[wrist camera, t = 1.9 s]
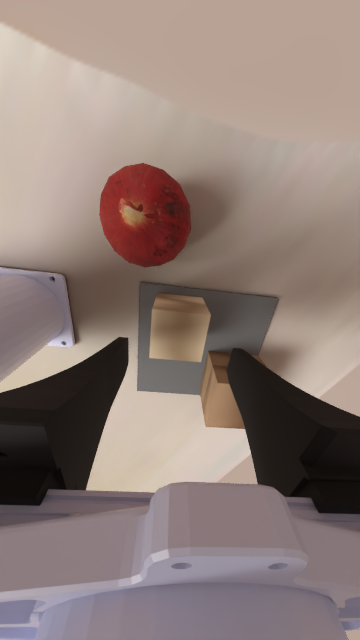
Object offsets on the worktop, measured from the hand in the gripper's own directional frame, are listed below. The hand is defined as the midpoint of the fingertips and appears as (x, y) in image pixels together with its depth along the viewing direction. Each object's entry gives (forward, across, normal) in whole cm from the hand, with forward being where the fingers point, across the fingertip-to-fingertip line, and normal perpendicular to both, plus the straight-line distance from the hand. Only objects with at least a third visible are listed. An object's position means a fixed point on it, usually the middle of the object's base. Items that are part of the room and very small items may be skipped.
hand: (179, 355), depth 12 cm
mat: (+7, -3, +4) cm, 9 cm away
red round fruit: (+8, +3, -8) cm, 11 cm away
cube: (+7, 0, 0) cm, 7 cm away
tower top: (+4, -7, +7) cm, 11 cm away
